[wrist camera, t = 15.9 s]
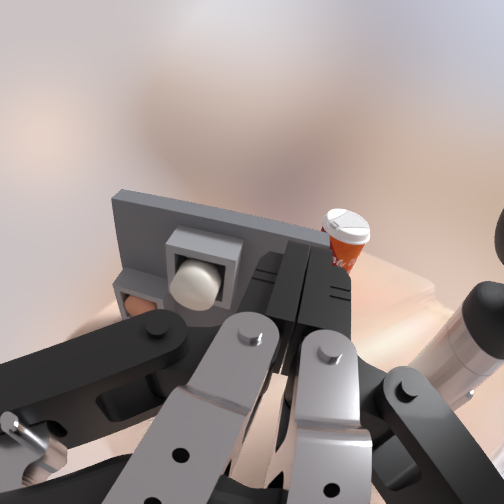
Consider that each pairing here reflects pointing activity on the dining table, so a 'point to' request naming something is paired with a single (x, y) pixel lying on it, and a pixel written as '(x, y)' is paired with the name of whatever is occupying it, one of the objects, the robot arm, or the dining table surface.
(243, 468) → the dining table surface
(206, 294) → the cream button
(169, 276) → the button panel
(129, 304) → the terracotta button
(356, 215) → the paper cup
